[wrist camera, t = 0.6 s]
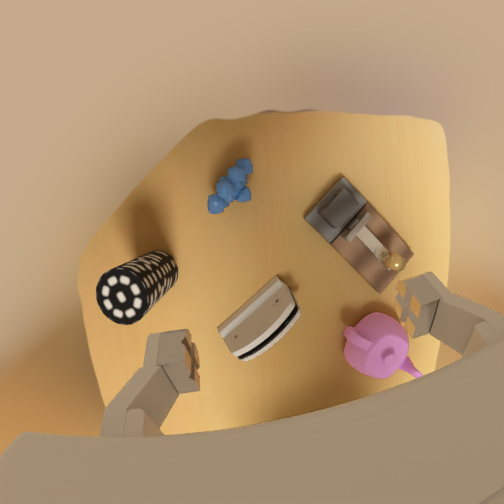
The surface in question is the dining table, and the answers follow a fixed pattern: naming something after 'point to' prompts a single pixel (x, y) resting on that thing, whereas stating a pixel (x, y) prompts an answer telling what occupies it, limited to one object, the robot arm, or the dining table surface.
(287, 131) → the dining table surface
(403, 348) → the teapot
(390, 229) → the door board
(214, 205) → the grapes
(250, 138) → the dining table surface
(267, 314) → the light grey rounded piece
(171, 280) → the white-spotted black cylinder
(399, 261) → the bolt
